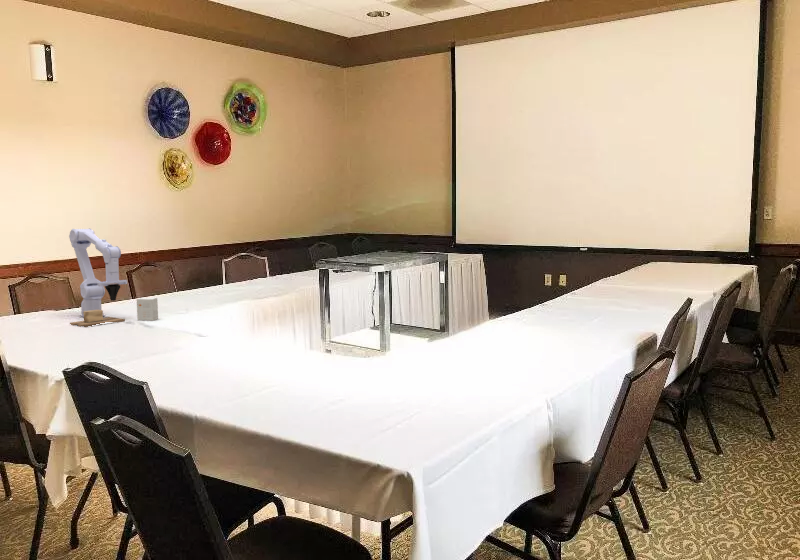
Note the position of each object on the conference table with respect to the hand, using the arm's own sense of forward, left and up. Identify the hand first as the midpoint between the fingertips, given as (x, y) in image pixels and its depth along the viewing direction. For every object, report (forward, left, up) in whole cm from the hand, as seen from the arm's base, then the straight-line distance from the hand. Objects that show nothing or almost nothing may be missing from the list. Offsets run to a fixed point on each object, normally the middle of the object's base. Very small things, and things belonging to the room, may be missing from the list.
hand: (113, 300), depth 313 cm
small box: (+13, +9, -10) cm, 19 cm away
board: (+2, -10, -10) cm, 14 cm away
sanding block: (+2, -12, -9) cm, 15 cm away
